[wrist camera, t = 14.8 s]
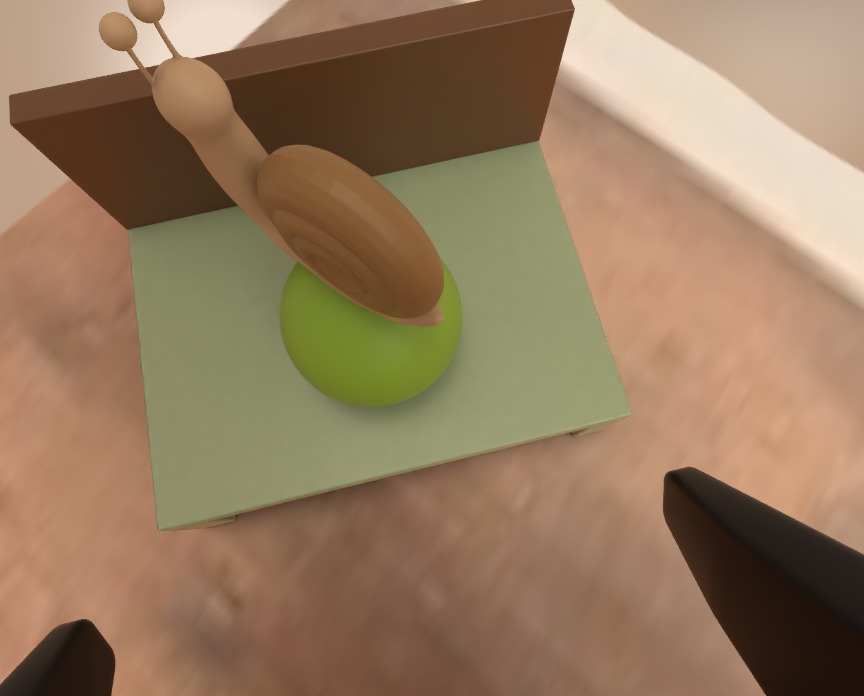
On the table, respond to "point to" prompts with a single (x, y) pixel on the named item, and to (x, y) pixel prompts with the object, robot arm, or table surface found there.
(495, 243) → the bench with backrest
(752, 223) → the table surface
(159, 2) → the snail figurine
